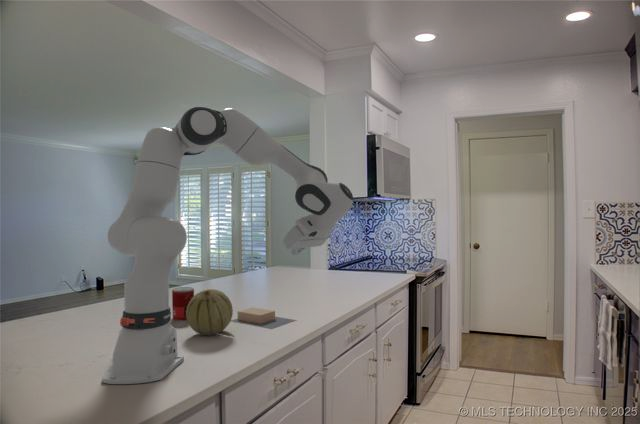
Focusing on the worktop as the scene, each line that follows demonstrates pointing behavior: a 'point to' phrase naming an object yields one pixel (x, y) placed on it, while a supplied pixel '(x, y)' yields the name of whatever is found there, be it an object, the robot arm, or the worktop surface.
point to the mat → (270, 324)
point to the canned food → (181, 301)
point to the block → (256, 315)
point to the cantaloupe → (209, 312)
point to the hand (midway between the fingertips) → (294, 253)
